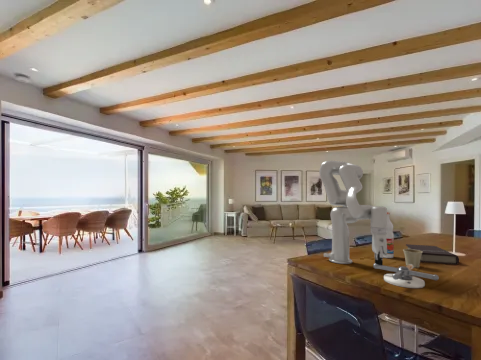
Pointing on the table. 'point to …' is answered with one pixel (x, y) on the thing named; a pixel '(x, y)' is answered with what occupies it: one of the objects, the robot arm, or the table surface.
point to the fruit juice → (389, 239)
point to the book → (435, 254)
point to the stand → (405, 281)
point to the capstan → (405, 272)
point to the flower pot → (412, 257)
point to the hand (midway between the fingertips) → (378, 267)
